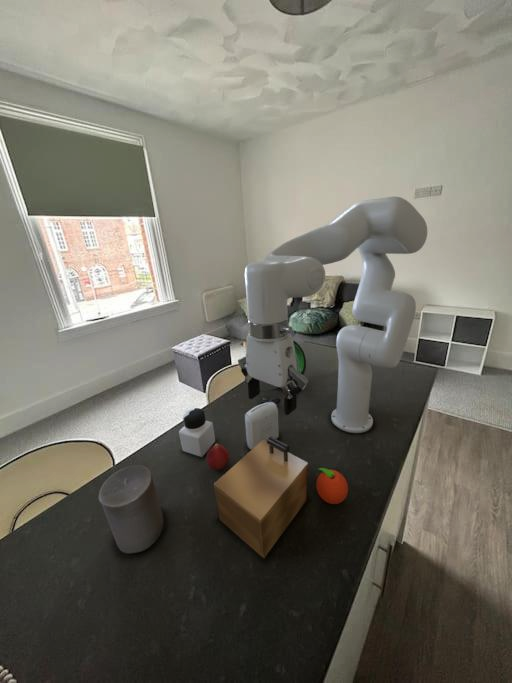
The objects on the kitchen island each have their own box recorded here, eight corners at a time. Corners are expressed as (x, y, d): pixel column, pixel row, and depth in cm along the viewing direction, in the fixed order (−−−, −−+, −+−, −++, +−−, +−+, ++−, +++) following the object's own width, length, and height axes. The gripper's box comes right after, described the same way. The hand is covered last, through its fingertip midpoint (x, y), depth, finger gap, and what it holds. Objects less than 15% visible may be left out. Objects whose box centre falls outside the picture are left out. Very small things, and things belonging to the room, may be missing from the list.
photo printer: (272, 430, 87) (270, 396, 82) (281, 437, 84) (279, 402, 79) (244, 444, 82) (241, 409, 77) (252, 452, 79) (249, 416, 74)
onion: (212, 480, 71) (208, 456, 68) (205, 465, 75) (201, 442, 73) (233, 471, 73) (230, 447, 70) (225, 456, 78) (222, 433, 75)
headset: (270, 417, 107) (302, 360, 120) (292, 419, 95) (325, 356, 109) (237, 388, 101) (275, 332, 115) (257, 387, 90) (296, 325, 104)
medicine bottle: (215, 441, 84) (210, 408, 80) (202, 458, 78) (196, 423, 74) (196, 435, 87) (190, 403, 82) (182, 451, 81) (174, 417, 77)
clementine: (306, 493, 66) (306, 470, 63) (325, 477, 69) (326, 455, 67) (334, 517, 60) (335, 493, 57) (353, 499, 63) (355, 475, 61)
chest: (264, 473, 72) (261, 443, 68) (306, 500, 64) (306, 468, 60) (219, 519, 61) (214, 487, 57) (264, 558, 53) (261, 523, 49)
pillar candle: (149, 502, 66) (134, 453, 61) (173, 526, 60) (159, 474, 55) (107, 535, 59) (87, 483, 54) (130, 566, 53) (110, 511, 48)
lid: (263, 441, 69) (262, 425, 67) (308, 465, 61) (308, 447, 59) (214, 486, 57) (210, 468, 55) (261, 523, 49) (259, 503, 48)
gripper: (318, 330, 50) (316, 409, 57) (248, 316, 61) (253, 384, 67) (295, 343, 45) (295, 428, 51) (223, 325, 56) (230, 398, 62)
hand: (271, 403), depth 59 cm, fingers open, 9 cm apart
